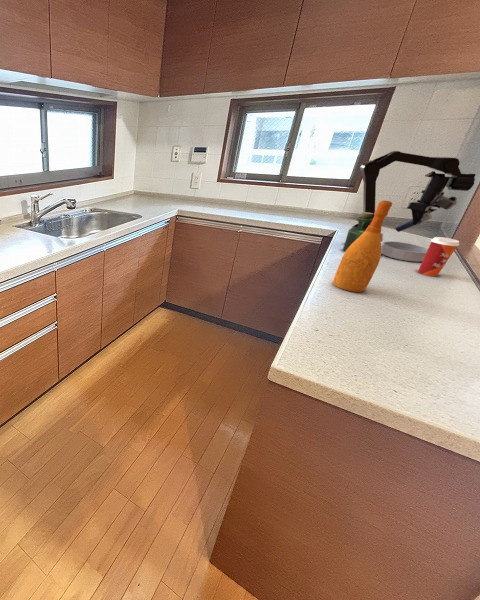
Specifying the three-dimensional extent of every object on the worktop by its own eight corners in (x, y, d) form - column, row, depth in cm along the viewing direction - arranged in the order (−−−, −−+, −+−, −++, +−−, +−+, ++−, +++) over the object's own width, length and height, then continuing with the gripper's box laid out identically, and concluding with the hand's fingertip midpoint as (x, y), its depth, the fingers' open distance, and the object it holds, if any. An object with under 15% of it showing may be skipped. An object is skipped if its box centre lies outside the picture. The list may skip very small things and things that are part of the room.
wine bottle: (367, 295, 109) (411, 205, 95) (332, 288, 114) (369, 201, 100) (363, 285, 117) (403, 200, 103) (330, 279, 121) (364, 196, 107)
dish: (414, 264, 138) (420, 254, 135) (371, 253, 150) (375, 243, 148) (431, 259, 144) (437, 249, 142) (388, 248, 157) (393, 239, 155)
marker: (394, 227, 153) (426, 213, 143) (396, 226, 154) (429, 211, 144) (397, 232, 153) (430, 218, 142) (400, 231, 154) (433, 217, 143)
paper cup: (436, 278, 124) (456, 243, 118) (410, 271, 130) (428, 237, 124) (444, 275, 127) (464, 240, 121) (419, 268, 133) (437, 235, 127)
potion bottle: (355, 255, 146) (373, 215, 138) (336, 250, 153) (352, 211, 145) (365, 253, 150) (383, 214, 141) (346, 248, 156) (362, 210, 148)
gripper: (450, 193, 130) (430, 231, 137) (468, 190, 138) (448, 226, 145) (415, 188, 139) (398, 224, 146) (434, 186, 146) (416, 221, 154)
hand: (416, 224), depth 147 cm, fingers closed on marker, 3 cm apart
